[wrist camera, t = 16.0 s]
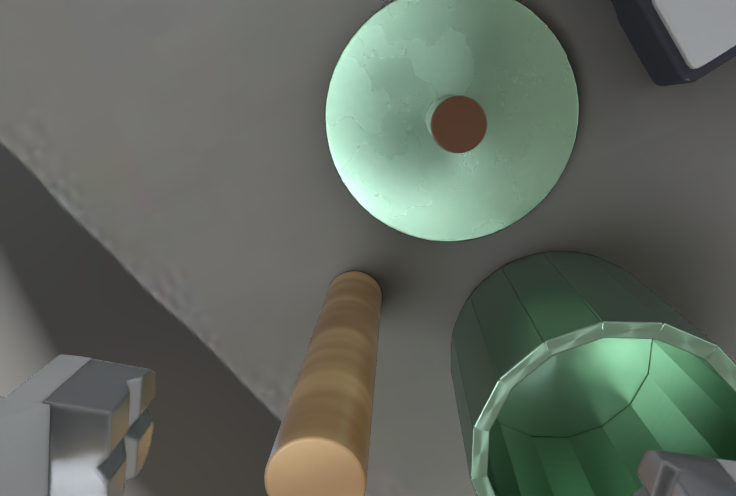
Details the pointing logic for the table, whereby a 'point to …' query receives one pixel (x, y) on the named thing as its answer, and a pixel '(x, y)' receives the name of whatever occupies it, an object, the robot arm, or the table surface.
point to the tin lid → (451, 116)
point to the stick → (332, 398)
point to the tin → (582, 380)
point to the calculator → (679, 36)
